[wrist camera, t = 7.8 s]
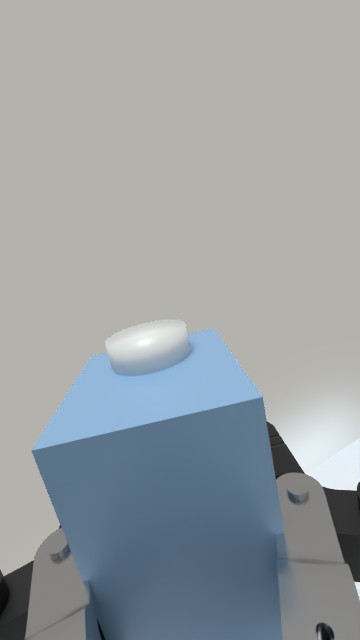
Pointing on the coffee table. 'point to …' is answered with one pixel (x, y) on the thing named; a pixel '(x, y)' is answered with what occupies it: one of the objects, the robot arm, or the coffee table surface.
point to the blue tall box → (168, 488)
